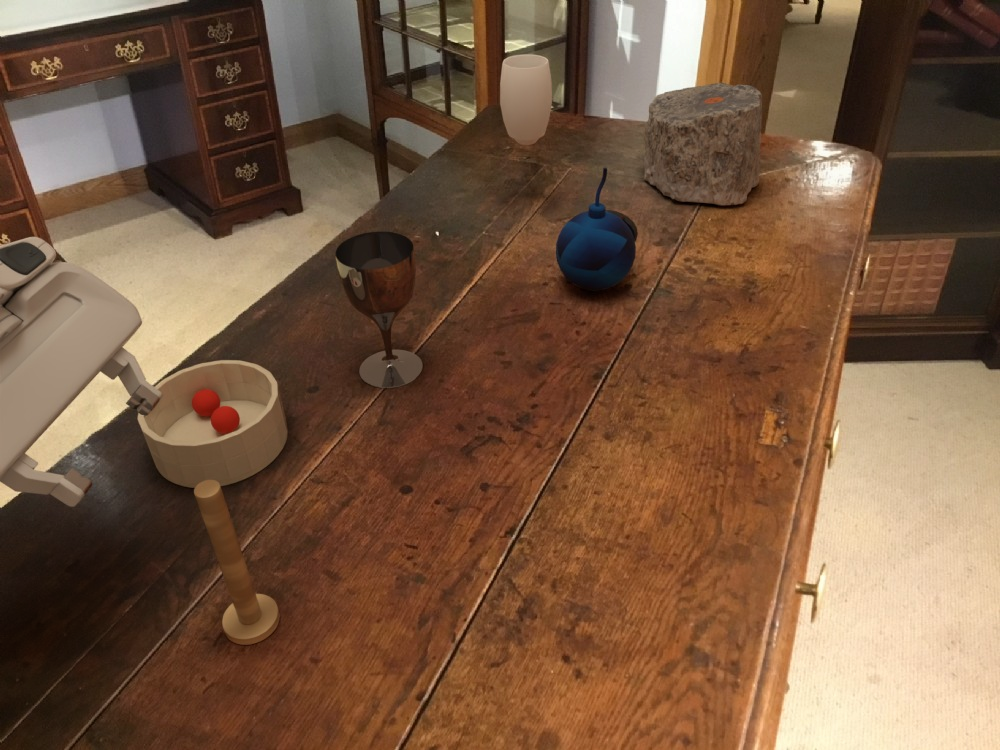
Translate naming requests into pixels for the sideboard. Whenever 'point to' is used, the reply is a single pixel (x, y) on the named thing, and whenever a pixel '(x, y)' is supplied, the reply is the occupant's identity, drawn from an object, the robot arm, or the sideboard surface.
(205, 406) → the tomato
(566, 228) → the bomb
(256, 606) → the stick
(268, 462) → the bowl
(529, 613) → the sideboard surface
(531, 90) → the cup
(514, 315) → the sideboard surface
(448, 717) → the sideboard surface
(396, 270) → the wine glass
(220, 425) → the tomato
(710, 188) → the petrified wood
